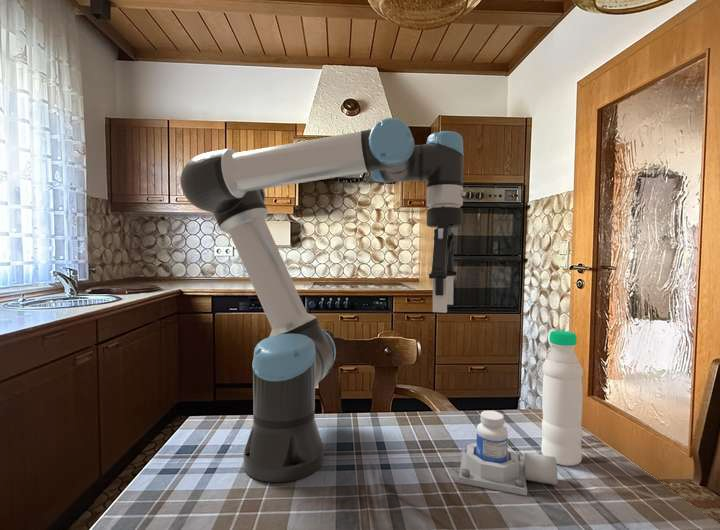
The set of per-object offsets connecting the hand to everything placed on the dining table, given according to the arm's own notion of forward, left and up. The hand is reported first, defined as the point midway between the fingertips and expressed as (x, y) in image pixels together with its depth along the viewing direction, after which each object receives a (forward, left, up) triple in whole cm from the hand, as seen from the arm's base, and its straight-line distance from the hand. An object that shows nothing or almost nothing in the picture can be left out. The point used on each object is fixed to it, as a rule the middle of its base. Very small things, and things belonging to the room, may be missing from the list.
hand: (443, 308), depth 82 cm
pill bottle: (+10, -9, -28) cm, 31 cm away
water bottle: (+23, +1, -29) cm, 37 cm away
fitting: (+13, -9, -29) cm, 33 cm away
